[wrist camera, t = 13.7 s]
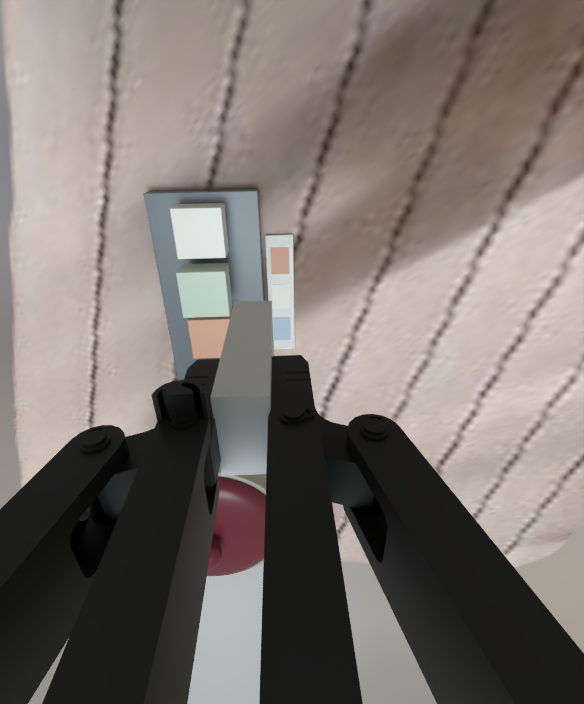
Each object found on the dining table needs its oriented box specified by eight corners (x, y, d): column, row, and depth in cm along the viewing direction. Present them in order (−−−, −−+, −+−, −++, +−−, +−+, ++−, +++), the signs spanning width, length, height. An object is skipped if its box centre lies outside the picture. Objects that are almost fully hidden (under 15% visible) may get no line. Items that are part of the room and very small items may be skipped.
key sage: (182, 264, 43) (176, 272, 40) (228, 262, 43) (225, 271, 40) (189, 306, 45) (183, 317, 42) (232, 305, 45) (229, 316, 43)
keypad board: (149, 191, 43) (137, 196, 40) (257, 189, 44) (256, 193, 40) (183, 381, 55) (176, 399, 52) (268, 378, 56) (267, 395, 52)
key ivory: (176, 204, 41) (169, 208, 39) (224, 202, 42) (220, 207, 39) (184, 251, 44) (177, 259, 41) (228, 250, 44) (225, 257, 41)
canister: (298, 399, 58) (309, 523, 39) (268, 485, 66) (266, 621, 47) (173, 374, 55) (122, 495, 36) (159, 467, 63) (111, 604, 44)
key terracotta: (192, 309, 47) (187, 320, 44) (234, 308, 47) (231, 319, 44) (198, 346, 50) (193, 358, 47) (237, 344, 50) (235, 357, 47)
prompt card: (265, 234, 46) (265, 235, 45) (292, 234, 46) (293, 235, 45) (271, 347, 53) (270, 349, 53) (294, 346, 53) (294, 348, 53)
